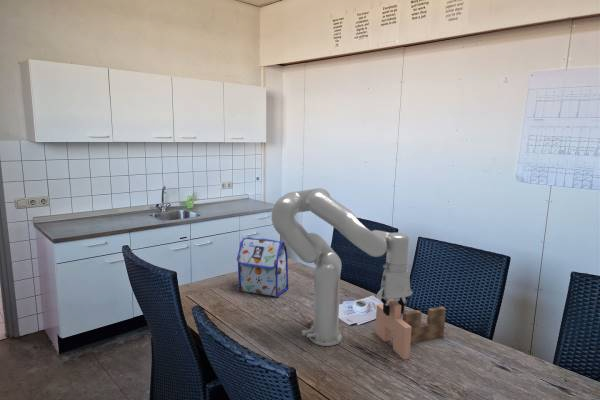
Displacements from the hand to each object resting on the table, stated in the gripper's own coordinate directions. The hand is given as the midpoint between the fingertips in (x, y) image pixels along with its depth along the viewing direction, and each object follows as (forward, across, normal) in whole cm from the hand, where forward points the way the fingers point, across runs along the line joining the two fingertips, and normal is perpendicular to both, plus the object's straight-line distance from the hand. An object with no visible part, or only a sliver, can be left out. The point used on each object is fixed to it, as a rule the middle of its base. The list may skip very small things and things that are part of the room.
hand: (393, 312), depth 150 cm
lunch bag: (+13, -34, +65) cm, 75 cm away
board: (+13, +14, 0) cm, 19 cm away
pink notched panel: (+13, 0, 0) cm, 13 cm away
